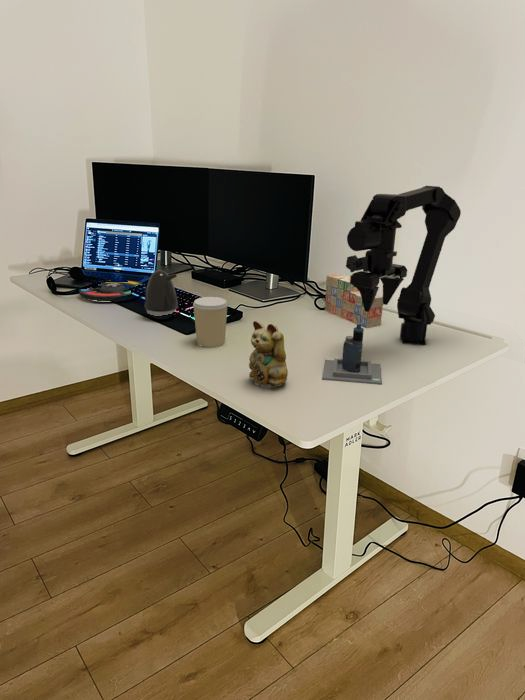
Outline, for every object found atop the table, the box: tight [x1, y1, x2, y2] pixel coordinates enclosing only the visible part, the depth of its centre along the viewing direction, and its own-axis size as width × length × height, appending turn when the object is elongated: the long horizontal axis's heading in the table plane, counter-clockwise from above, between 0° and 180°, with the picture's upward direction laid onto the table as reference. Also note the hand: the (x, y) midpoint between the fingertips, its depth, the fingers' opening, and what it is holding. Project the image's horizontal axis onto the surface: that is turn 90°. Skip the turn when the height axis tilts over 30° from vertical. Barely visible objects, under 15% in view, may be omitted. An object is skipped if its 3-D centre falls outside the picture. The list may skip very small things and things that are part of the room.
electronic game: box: [78, 280, 144, 301], centre depth 195 cm, size 23×23×5 cm
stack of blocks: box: [324, 273, 384, 329], centre depth 174 cm, size 21×6×12 cm, turn 31°
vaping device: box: [341, 324, 365, 373], centre depth 132 cm, size 3×5×12 cm, turn 36°
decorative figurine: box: [248, 320, 289, 390], centre depth 125 cm, size 10×8×15 cm
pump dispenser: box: [144, 269, 179, 316], centre depth 169 cm, size 10×10×15 cm
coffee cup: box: [192, 296, 228, 348], centre depth 149 cm, size 9×9×12 cm
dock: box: [321, 357, 383, 385], centre depth 133 cm, size 14×12×2 cm
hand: (376, 307), depth 140 cm, fingers open, 9 cm apart
